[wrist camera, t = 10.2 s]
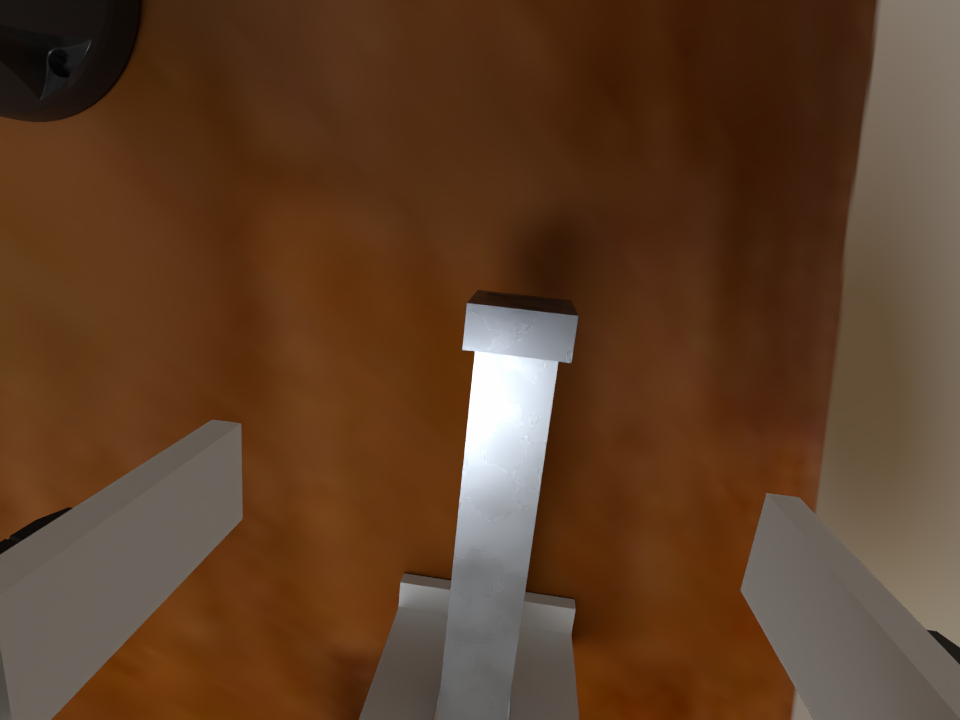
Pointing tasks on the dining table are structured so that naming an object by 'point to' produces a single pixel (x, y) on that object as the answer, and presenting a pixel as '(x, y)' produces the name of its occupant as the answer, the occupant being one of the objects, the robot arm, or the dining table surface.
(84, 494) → the dining table surface
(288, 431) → the dining table surface
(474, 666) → the shaft
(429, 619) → the bracket
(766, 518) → the robot arm
